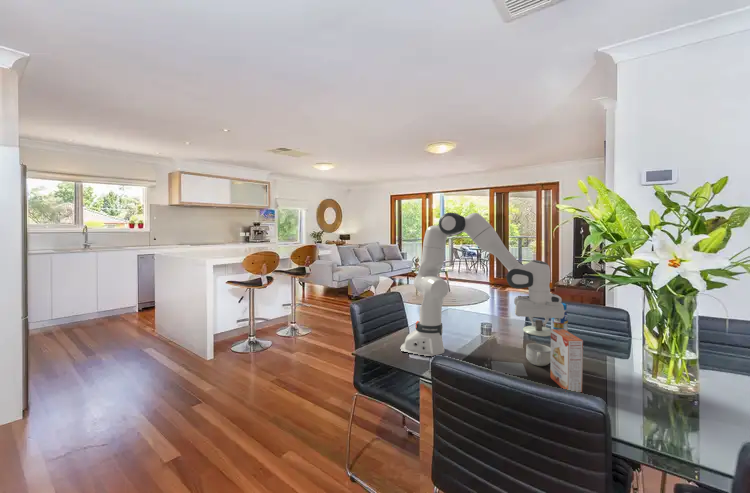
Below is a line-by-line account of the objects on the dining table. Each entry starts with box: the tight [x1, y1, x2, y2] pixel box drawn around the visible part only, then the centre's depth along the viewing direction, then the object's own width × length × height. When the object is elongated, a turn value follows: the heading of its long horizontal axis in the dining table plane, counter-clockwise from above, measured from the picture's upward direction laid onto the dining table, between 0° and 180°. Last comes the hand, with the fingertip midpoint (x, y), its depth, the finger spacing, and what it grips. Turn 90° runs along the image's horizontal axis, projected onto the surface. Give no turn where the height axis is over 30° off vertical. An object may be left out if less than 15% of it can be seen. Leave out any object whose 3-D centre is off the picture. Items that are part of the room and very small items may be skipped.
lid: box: [522, 319, 552, 337], centre depth 159 cm, size 13×13×5 cm
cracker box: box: [549, 329, 584, 393], centre depth 138 cm, size 14×6×21 cm, turn 178°
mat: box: [490, 360, 528, 377], centre depth 156 cm, size 14×14×1 cm
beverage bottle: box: [550, 302, 569, 332], centre depth 194 cm, size 8×8×20 cm
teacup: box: [525, 342, 551, 367], centre depth 160 cm, size 14×11×8 cm
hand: (538, 326), depth 159 cm, fingers closed on lid, 3 cm apart
